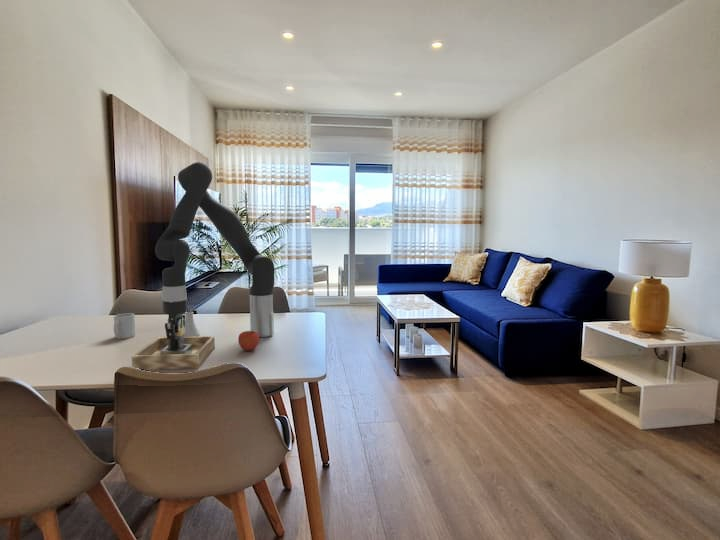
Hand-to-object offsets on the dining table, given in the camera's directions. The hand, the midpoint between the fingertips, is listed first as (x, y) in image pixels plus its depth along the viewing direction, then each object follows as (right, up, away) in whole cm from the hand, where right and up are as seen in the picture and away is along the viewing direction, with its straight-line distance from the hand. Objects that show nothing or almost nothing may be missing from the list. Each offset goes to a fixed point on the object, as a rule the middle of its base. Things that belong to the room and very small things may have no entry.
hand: (176, 347), depth 141 cm
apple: (+22, -3, +10) cm, 25 cm away
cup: (-33, -1, +25) cm, 42 cm away
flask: (-7, -1, +28) cm, 29 cm away
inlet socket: (0, -4, 0) cm, 4 cm away
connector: (0, -1, 0) cm, 1 cm away
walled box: (0, -4, 0) cm, 4 cm away
